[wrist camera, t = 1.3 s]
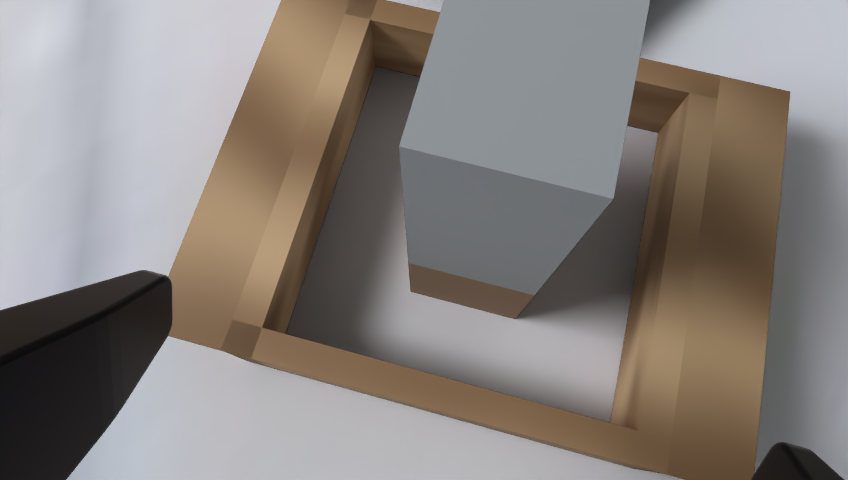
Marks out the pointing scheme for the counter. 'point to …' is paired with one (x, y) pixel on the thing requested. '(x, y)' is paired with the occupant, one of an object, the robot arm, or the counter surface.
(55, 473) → the robot arm
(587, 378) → the counter surface
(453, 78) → the box
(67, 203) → the counter surface
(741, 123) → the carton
